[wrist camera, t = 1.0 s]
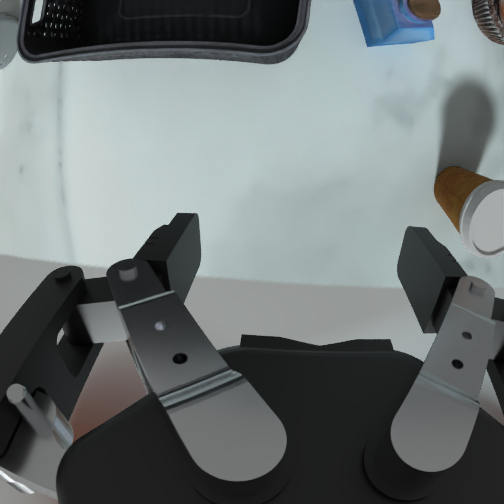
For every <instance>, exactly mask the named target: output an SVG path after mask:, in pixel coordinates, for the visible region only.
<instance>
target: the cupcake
mask: <svg viewBox="0 0 504 504" xmlns="http://www.w3.org/2000/svg"><path fill="white" fill-rule="evenodd" d="M472 9H473V15H474V18H475V21H476V23H477V25H478V27H479V29H480V30H481V31H482V33H483V34H484V35H485V36H487V37H488V39H490V40H491V41H493V42H496V43H498V44H502V45H504V0H474V1H473V7H472Z"/></svg>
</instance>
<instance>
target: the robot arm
mask: <svg viewBox="0 0 504 504" xmlns="http://www.w3.org/2000/svg"><path fill="white" fill-rule="evenodd" d="M17 29H18V20H17V19H16V18H15V17H12V16H7V15H6V13H4V12H0V69H2V68H4V67H5V66H7V65H8V64H9V63H10V62H11V60H12V59H13V57H14V55H15V53H16V51H17V45H16V37H17ZM200 261H201V243H200V229H199V218H198V214H197V213H177V214H176V216H175V217H174V218H173V220H172V221H171V222H170V224H169V225H163V226H161V227H159V228H158V229H156V230H154V232H153V233H152V234H151V235H150V237H149V239H147V241H146V242H145V244H143V246H142V247H141V248H140V250H139V251H138V252H137V254H136V255H135V256H134V258H133V259H126V260H122V261H119V262H117V263H115V264H113V265H112V266H111V267H110V268H109V269H108V270H107V273H106V275H107V277H101V278H92V279H85V277H84V274H83V271H82V269H81V268H80V267H77V266H65V267H61V268H58V269H56V270H54V271H53V272H51V273H50V274H49V275H48V276H47V277H46V278H45V279H44V280H43V281H42V282H41V284H40V285H39V286H38V287H37V289H36V290H35V291H34V292H33V293H32V294H31V296H30V297H29V298H28V299H27V301H26V302H25V303H24V304H23V306H22V307H21V308H20V309H19V311H18V312H17V313H16V315H15V316H14V317H13V318H12V320H11V321H10V322H9V324H8V325H7V326H6V328H5V329H4V330H3V332H2V333H1V334H0V479H1V480H3V481H6V482H7V483H8V484H10V485H11V486H12V487H14V488H15V489H17V490H18V491H20V492H22V493H27V494H30V493H34V492H37V491H38V492H40V493H42V494H45V495H47V496H50V497H52V498H54V499H57V500H58V504H504V426H503V425H502V424H500V423H499V422H498V421H497V420H495V419H494V418H493V417H492V416H491V415H489V414H488V413H487V412H486V411H485V410H483V409H482V408H481V407H480V403H479V402H478V397H479V393H480V390H481V386H482V383H483V379H484V375H485V371H486V369H487V372H488V374H489V376H490V379H491V382H492V384H493V387H494V390H495V392H496V395H497V398H498V400H499V403H500V406H501V409H502V412H503V415H504V299H500V298H495V292H494V290H493V288H492V287H491V286H490V285H489V284H488V283H487V282H485V281H483V280H482V279H480V278H477V277H473V276H468V275H467V274H466V273H465V271H464V270H463V269H462V267H461V266H460V265H459V263H458V262H456V259H455V258H454V257H453V256H452V254H451V253H450V252H449V250H448V249H447V248H446V247H445V246H444V245H442V244H441V243H439V242H438V241H437V240H436V239H435V238H434V237H433V235H432V234H431V233H430V232H429V230H428V229H427V228H423V227H412V226H409V227H407V229H406V231H405V235H404V239H403V243H402V247H401V252H400V256H399V260H398V265H397V273H398V277H399V280H400V282H401V284H402V286H403V288H404V290H405V292H406V295H407V297H408V299H409V301H410V303H411V306H412V307H413V310H414V312H415V315H416V317H417V319H418V322H419V324H420V326H421V329H422V331H423V333H437V336H436V338H435V340H434V342H433V344H432V347H431V348H430V351H429V353H428V355H427V357H426V359H425V361H424V362H423V361H421V360H419V359H417V358H415V357H413V356H411V355H409V354H406V353H402V352H400V351H395V350H393V346H392V343H391V340H390V339H383V340H382V339H373V340H372V339H368V340H367V339H366V340H365V339H356V340H350V341H345V342H340V343H334V344H328V345H322V346H318V345H313V344H308V343H304V342H299V341H295V340H291V339H286V338H282V337H273V336H257V335H243V334H242V337H241V343H240V345H238V346H232V347H227V348H223V349H220V350H216V349H215V347H214V346H213V345H212V343H211V342H210V341H209V339H208V338H207V336H206V335H205V334H204V332H203V331H202V330H201V328H200V327H199V325H198V324H197V322H196V321H195V320H194V318H193V317H192V315H191V314H190V313H189V311H188V310H187V308H186V307H185V305H184V302H185V299H186V297H187V294H188V292H189V290H190V287H191V285H192V282H193V280H194V278H195V275H196V273H197V271H198V268H199V266H200ZM61 328H63V331H64V335H63V337H62V339H61V340H60V342H59V344H58V345H57V336H58V333H59V332H60V330H61ZM123 340H125V341H126V344H127V346H128V349H129V351H130V354H131V356H132V358H133V361H134V363H135V366H136V368H137V370H138V372H139V375H140V377H141V380H142V382H143V384H144V386H145V389H146V392H147V395H146V396H144V397H143V398H141V399H140V400H138V401H137V402H135V403H134V404H133V405H131V406H129V407H128V408H126V409H125V410H123V411H122V412H120V413H118V414H117V415H115V416H114V417H112V418H111V419H109V420H107V421H106V422H105V423H103V424H101V425H99V426H98V427H96V428H95V429H93V430H91V431H90V432H88V433H87V434H85V435H83V436H82V437H80V438H79V439H77V440H76V441H75V442H74V443H73V444H72V441H73V430H72V427H71V425H70V423H69V422H68V421H69V419H70V416H71V414H72V412H73V409H74V407H75V405H76V402H77V400H78V398H79V395H80V393H81V391H82V389H83V387H84V384H85V382H86V380H87V378H88V376H89V373H90V371H91V369H92V367H93V365H94V363H95V361H96V358H97V357H98V354H99V352H100V350H101V348H102V346H103V344H104V342H112V341H123Z"/></svg>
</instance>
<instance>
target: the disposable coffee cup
mask: <svg viewBox="0 0 504 504" xmlns="http://www.w3.org/2000/svg"><path fill="white" fill-rule="evenodd" d="M434 195H435V198H436V200H437V202H438V203H439V204H440V206H441V207H442V209H443V210H444V211H445V213H446V214H447V216H448V217H449V219H450V220H451V222H452V223H453V225H454V226H455V228H456V229H457V231H458V232H459V234H460V236H461V240H462V242H463V245H464V246H465V248H466V249H467V250H468V251H469V252H470V253H471V254H473V255H476V256H480V257H483V258H493V257H497V256H499V255H501V254H503V253H504V181H501V180H491V179H489V178H487V177H484V176H482V175H479V174H476V173H474V172H471V171H468V170H465V169H463V168H460V167H457V166H451V167H448V168H446V169H444V170H443V171H442V172H441V173H440V174H439V176H438V177H437V179H436V182H435V185H434Z"/></svg>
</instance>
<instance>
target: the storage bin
mask: <svg viewBox="0 0 504 504" xmlns="http://www.w3.org/2000/svg"><path fill="white" fill-rule="evenodd" d="M35 1H36V0H22V4H21V10H20V16H19V22H18V29H17V37H16V45H17V50H18V53H19V55H20V57H21V58H22V59H23V60H24V61H26V62H28V63H43V62H50V61H51V62H59V61H80V60H81V61H88V60H90V61H102V60H116V59H137V58H191V59H213V60H228V61H240V62H250V63H259V64H276V63H280V62H282V61H284V60H286V59H288V58H289V57H290V56H291V55H292V54H293V53H294V52H295V50H296V49H297V47H298V45H299V43H300V41H301V39H302V37H303V36H304V34H305V32H306V30H307V27H308V22H309V15H310V6H311V0H43V6H42V12H41V18H40V20H39V21H38V22H35V23H33V24H32V17H33V12H34V6H35ZM54 3H55V6H54ZM48 5H49V7H48ZM58 7H59V9H58ZM63 7H64V9H63ZM72 7H73V10H72ZM76 9H77V12H76ZM47 13H48V15H47ZM52 14H53V18H52ZM57 14H58V17H57ZM66 16H67V19H66ZM75 17H76V18H75ZM61 18H62V19H61ZM51 23H52V25H51ZM60 25H61V28H60ZM65 25H66V28H65ZM69 25H70V27H69ZM50 26H51V28H50ZM55 26H56V28H55ZM34 32H35V34H34ZM44 33H45V36H44Z"/></svg>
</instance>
